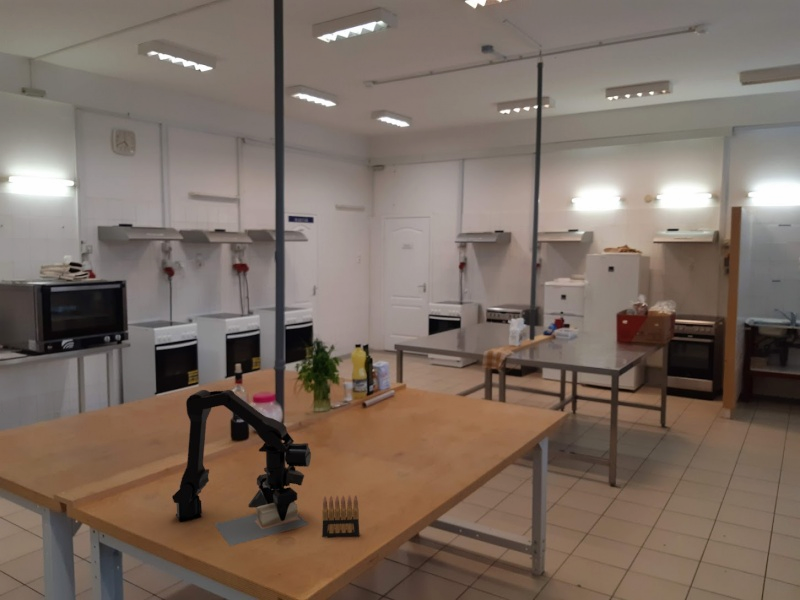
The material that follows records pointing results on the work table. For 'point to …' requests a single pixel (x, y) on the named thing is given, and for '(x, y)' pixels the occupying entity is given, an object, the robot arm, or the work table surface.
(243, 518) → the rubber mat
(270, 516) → the ash block
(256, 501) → the phone
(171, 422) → the work table surface
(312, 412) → the work table surface
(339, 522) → the ammunition clip
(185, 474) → the robot arm
